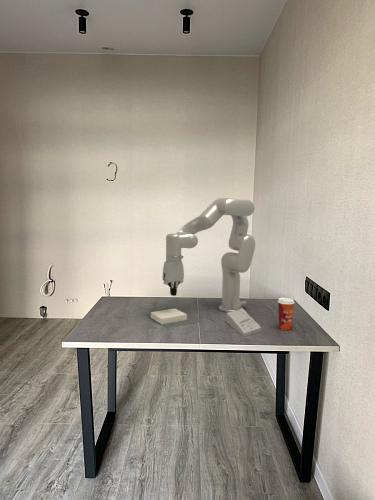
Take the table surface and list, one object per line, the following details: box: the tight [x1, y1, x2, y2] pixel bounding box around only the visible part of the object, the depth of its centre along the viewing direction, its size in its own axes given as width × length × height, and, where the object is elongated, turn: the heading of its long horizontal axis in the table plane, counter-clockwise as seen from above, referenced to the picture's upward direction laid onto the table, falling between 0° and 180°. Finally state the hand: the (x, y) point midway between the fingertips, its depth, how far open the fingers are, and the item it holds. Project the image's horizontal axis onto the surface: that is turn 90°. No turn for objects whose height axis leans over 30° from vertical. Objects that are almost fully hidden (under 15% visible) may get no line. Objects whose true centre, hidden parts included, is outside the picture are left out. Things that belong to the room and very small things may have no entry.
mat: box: [146, 308, 206, 329], centre depth 189 cm, size 22×22×1 cm
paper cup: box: [277, 297, 295, 331], centre depth 177 cm, size 8×8×14 cm
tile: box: [150, 307, 187, 326], centre depth 187 cm, size 3×12×14 cm
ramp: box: [225, 307, 262, 337], centre depth 180 cm, size 28×16×5 cm, turn 177°
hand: (173, 295), depth 187 cm, fingers closed
